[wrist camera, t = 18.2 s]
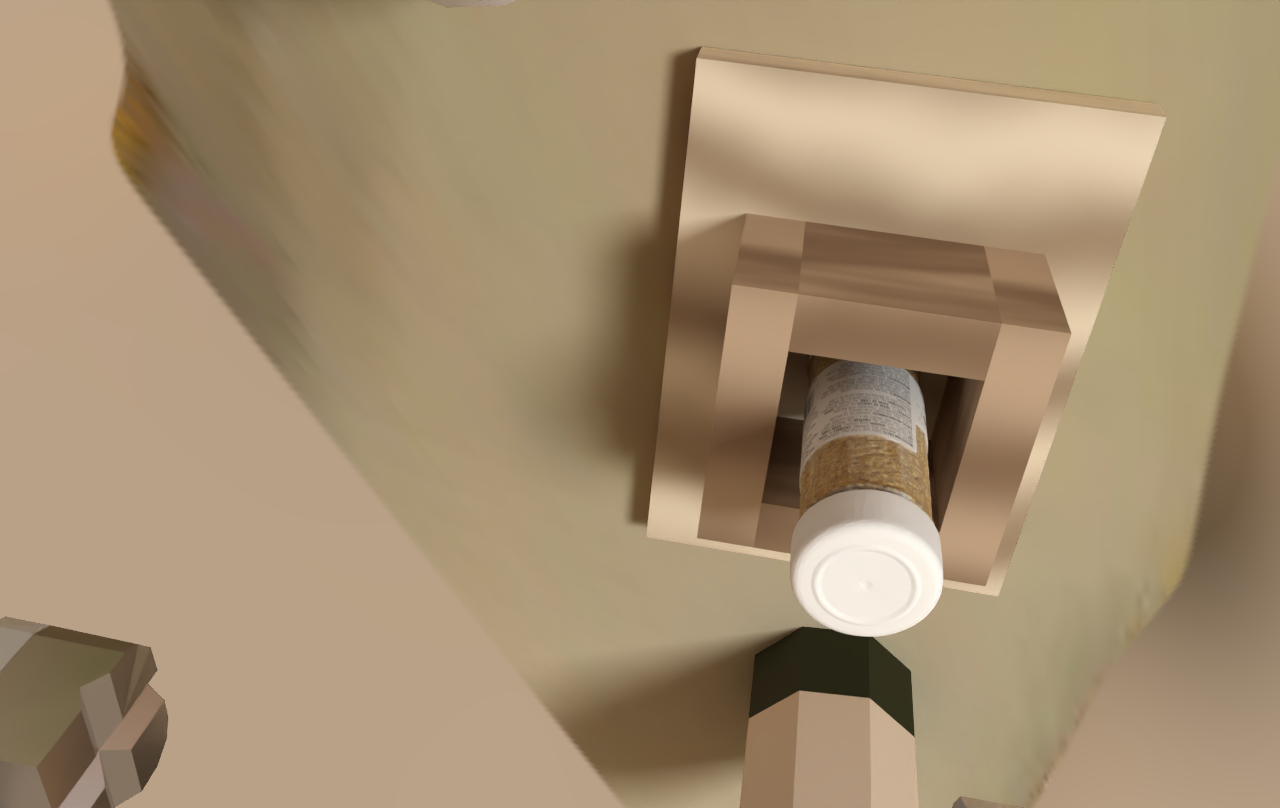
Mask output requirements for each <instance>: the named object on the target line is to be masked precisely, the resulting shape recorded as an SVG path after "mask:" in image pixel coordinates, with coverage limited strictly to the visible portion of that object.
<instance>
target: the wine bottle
mask: <svg viewBox="0 0 1280 808" xmlns="http://www.w3.org/2000/svg"><path fill="white" fill-rule="evenodd" d="M740 808H919V805H918V788H917V771H916V753H915V736H914V719H913V701H912V684H911V671H910V670H909V669H908V668H907V667H906V666H904V665H903V664H902V663H901V662H900V661H899V660H898V659H897V658H896V657H894V656H893V655H892V654H891V653H890V652H889V651H888V650H887V649H885V648H884V647H883V646H882V645H881V644H880V643H879V642H878V641H877V640H875V639H874V638H873V637H865V636H855V635H849V634H845V633H841V632H838V631H835V630H829V629H819V628H809V627H802V628H800V629H798V630H797V631H795V632H793V633H792V634H790V635H788V636H787V637H785V638H783V639H782V640H780V641H778V642H777V643H775V644H773V645H771V646H770V647H768V648H766V649H765V650H763V651H761V652H760V653H758V654H756V655H755V663H754V673H753V682H752V692H751V702H750V712H749V721H748V731H747V741H746V750H745V760H744V770H743V779H742V789H741V799H740Z"/></svg>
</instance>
